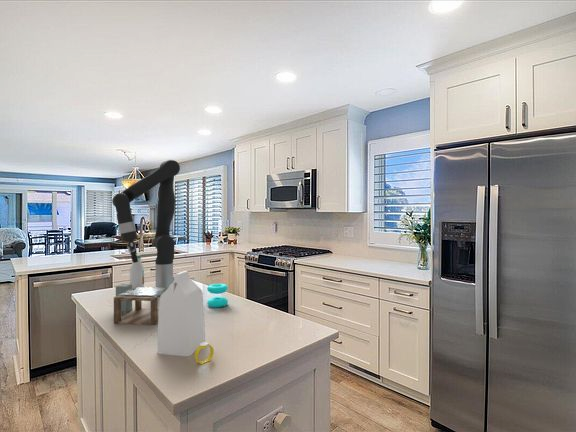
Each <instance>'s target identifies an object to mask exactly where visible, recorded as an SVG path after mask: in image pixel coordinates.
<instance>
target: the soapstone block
mask: <svg viewBox="0 0 576 432" xmlns="http://www.w3.org/2000/svg"><path fill="white" fill-rule="evenodd" d="M128 290H133V289H132V284H130V283H120V284H118V285H115V296H117V295H119V294H122V293H124V292H126V291H128ZM131 309H132V310H133V300H124V301H121V313H128V312H131V311H132V310H131Z"/></svg>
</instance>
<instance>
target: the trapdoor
mask: <svg viewBox="0 0 576 432" xmlns="http://www.w3.org/2000/svg"><path fill="white" fill-rule="evenodd" d="M166 290H167V288H156V287H154V288H150V287H147V286H144V287H139V288H136V289H134V290H133V289H132V290H128V291H126V292H124V293H122V294H119V295H117V296H131V297H158V296H157V295H159V294H161V293H163V292H165V291H166ZM121 301H124V300H121Z"/></svg>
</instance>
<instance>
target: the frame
mask: <svg viewBox="0 0 576 432" xmlns="http://www.w3.org/2000/svg"><path fill="white" fill-rule="evenodd" d="M136 288H139V287H136ZM136 288H135V289H136ZM150 288H155V287H150ZM167 289H168V288H167ZM121 300H132V301H134V305H135V306H134V310H131V311H129V313H128V312H127V313H126V314H125V315H123V316H122V312H121ZM158 300H159V298H158V296H155V297H131V296H116V295H115V296H113V324H119V325H120V324H121V325H122V324H123V325H145V326H146V325H149V326H155V325H156V326H157V325H158V318H159V302H158ZM143 301H144V302H150V308H142V307H143V305H142V304H143V303H142V302H143Z"/></svg>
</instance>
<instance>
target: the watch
mask: <svg viewBox="0 0 576 432" xmlns="http://www.w3.org/2000/svg"><path fill="white" fill-rule="evenodd" d="M208 347H209V349H210V352H209V354H208V357H207V358H206V359H204V360H201V361H199V354H200V351H201V350H202V349H205V348H208ZM213 356H214V347H213V346H212V344H210V343H209V341H206V342H202V343H200V346H199V347H198V348H197V350H196V351H195V352H194V360H195V361H196V363H198V364H200V365H203V364H202V363H204V364H206V363H208V362H207V361H209V362H210V361H211V360H212V359H213ZM205 361H206V363H205Z"/></svg>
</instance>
